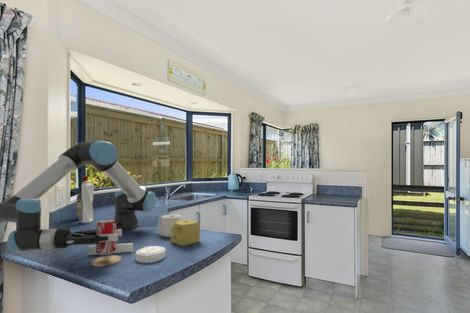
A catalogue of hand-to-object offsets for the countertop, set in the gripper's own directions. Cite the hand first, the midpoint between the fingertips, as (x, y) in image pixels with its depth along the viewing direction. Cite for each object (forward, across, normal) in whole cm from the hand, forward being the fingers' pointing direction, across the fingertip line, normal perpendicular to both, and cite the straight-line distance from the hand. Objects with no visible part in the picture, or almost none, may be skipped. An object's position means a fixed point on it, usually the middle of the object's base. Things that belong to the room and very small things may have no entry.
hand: (119, 234), depth 109 cm
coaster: (-5, 0, -10) cm, 11 cm away
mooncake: (+12, -1, -11) cm, 16 cm away
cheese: (+27, -20, -10) cm, 35 cm away
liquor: (-44, -96, -10) cm, 106 cm away
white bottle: (-38, -82, -10) cm, 91 cm away
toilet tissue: (+18, -36, -10) cm, 41 cm away
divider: (-6, -11, -10) cm, 16 cm away
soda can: (-5, 0, -7) cm, 9 cm away
